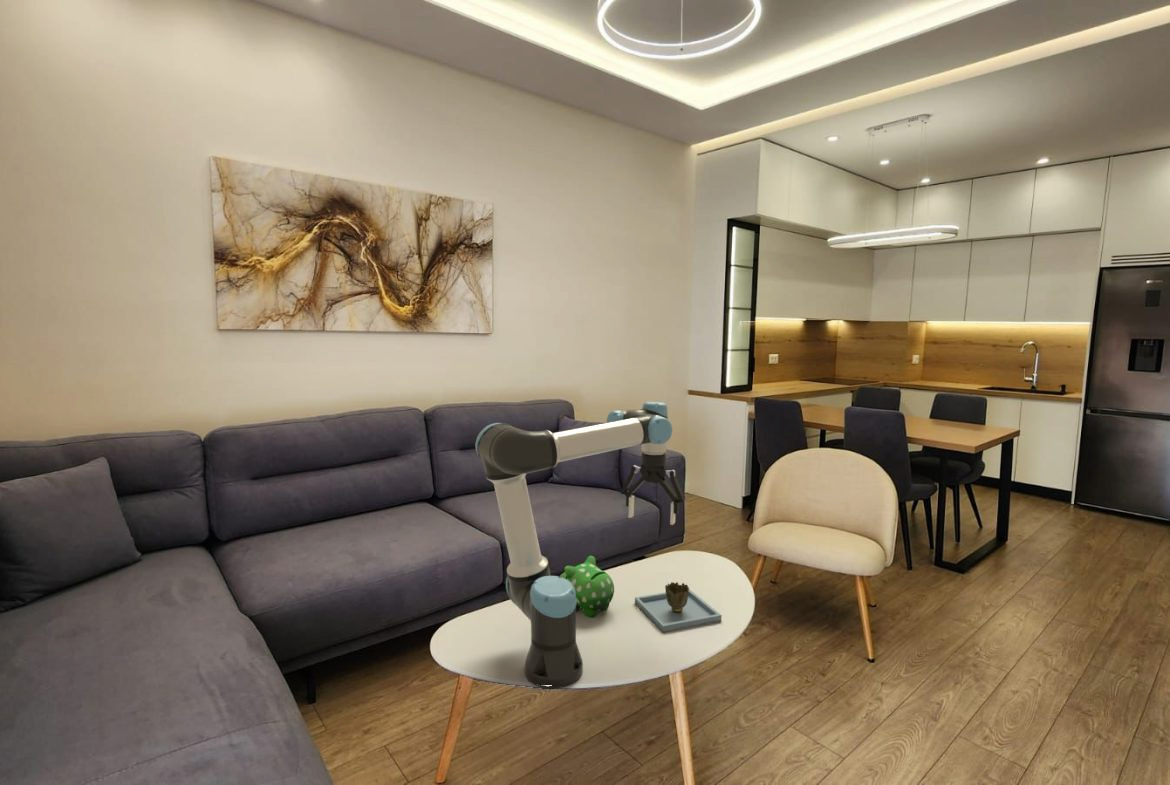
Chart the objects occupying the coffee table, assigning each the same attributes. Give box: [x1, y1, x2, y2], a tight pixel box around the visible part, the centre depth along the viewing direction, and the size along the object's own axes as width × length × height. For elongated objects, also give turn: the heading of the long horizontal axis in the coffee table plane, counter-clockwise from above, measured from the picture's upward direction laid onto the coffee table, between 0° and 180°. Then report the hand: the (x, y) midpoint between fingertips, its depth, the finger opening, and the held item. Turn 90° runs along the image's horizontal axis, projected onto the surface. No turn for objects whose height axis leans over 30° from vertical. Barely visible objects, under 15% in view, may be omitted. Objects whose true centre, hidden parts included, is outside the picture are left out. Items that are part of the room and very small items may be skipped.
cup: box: [664, 581, 690, 613], centre depth 182 cm, size 8×7×8 cm
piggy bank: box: [558, 555, 615, 618], centre depth 185 cm, size 14×18×15 cm
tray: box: [634, 588, 722, 633], centre depth 183 cm, size 20×20×2 cm
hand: (651, 520), depth 178 cm, fingers open, 13 cm apart
